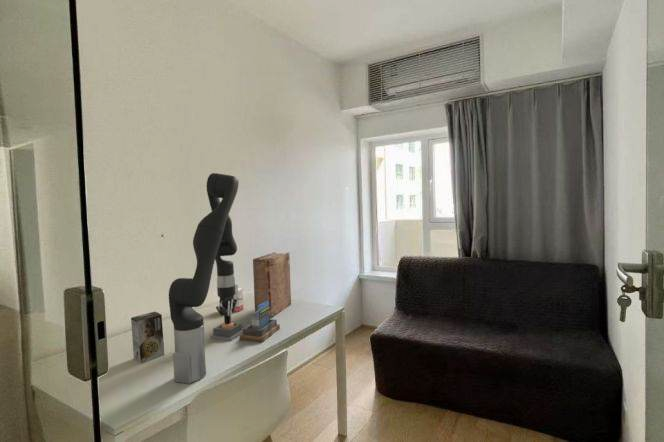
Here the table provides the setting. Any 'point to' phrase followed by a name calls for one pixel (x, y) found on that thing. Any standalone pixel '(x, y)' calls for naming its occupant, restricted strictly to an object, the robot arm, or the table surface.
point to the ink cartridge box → (238, 298)
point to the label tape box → (261, 316)
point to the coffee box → (147, 336)
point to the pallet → (260, 332)
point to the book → (272, 282)
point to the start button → (227, 325)
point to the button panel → (227, 332)
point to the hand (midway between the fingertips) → (227, 323)
